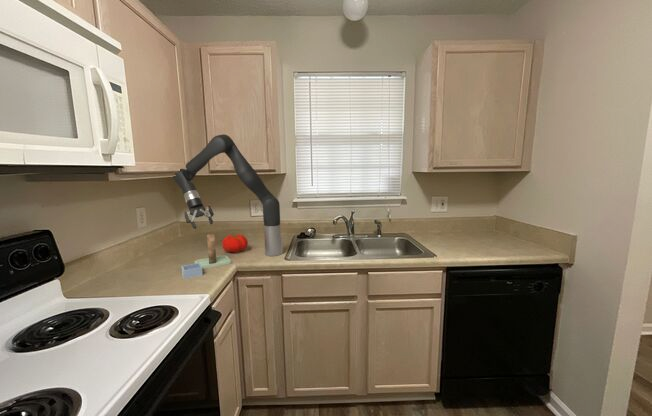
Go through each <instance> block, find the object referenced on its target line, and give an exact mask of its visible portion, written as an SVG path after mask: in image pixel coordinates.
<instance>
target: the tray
mask: <svg viewBox="0 0 652 416" xmlns="http://www.w3.org/2000/svg"><path fill="white" fill-rule="evenodd" d="M193 262H194V263H193V264H195V263H200V264H201V266H202V270H203V269H204V270H205V269H210V268H214V267H220V266H225V265H230V264H232V259H230V257H228V256H227V254H224V255H218V256H217V255H216V263H214V264H209V257H206V258H200V259H195V260H193Z"/></svg>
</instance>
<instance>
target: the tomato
mask: <svg viewBox="0 0 652 416" xmlns="http://www.w3.org/2000/svg"><path fill="white" fill-rule="evenodd" d="M221 243H222V245H221V246H222V249H223V250H224V251H226V252H227V253H233V254H235V253H238V252H243V251H244V250H245V249H247V246H248V243H249V242H248V238H246V236H244V235H243V234H240V233H236V234H233V235H232V234H230V235H227V236H226V237H225V238H223V240H222V242H221Z"/></svg>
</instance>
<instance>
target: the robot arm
mask: <svg viewBox="0 0 652 416" xmlns="http://www.w3.org/2000/svg"><path fill="white" fill-rule="evenodd" d="M238 148H239V147H238V146H237V145H236V143H235V142H234V140H233V139H232V138H231V137H230V136H229V135H228V134H218V135H214V136H213V137H212V138H211V139H210V140H209V142H208V143H207V144H206V146H205V147H204V148H203V149H202V150H201V151H200V152H199V153H197V154H196V155H195V156H194V157H192V158H191V159H190V160H189V161H188V162H187V163H186V164H185V168H181V169H180V171H178V172H177V173H175V175H176V176H173V175H172V177H173V179H174V181H175V184H177V185H178V187H179V188H180V189H181V191H182V194H183V197H184V199H185V202H186V206H187V208H188V210H189V211H184V213H183V216H184V219H185V221H186V223H187V224H190V225H191V227H192V228H193V229H194V230H196V229H197V225H196V222H195V218H200V217H206V218H207V219H208V222H209V224H210V225H213V223H214V220H213V217H214V216H215V214H214V211H213V209H212V207H211V205H208V206H206V207H205V206H204V204H203V202H202V198H201V197H200V193H198V191H197V187H196V186H195V184H194V183H193V182H192V180H194V178H195V176H197V173H198V172H200V171H201V170H202V169H203V168H204V167H206V165H207V164H208V163H209V162H210V161H211V160H212V159H213V158H214V157H216V156H218V155H220V154H225V155H226V156H227V157H228V158H229V160H230V161H231V163H232V165H233V168H234V170H235V171H234V172H235V174H236V175H237V177H238V178H239V180H240V181H241V182H242V183H243V184H244V186H245V187H246V188H248V189H249V190H250V191H251V192H252V193H253V194H254V195H255V196H256V197H257V198H258V200H259V201H260V203H261V204H262V217H263V218H262V219H263V230H264V231H263V232H264V235H263V236H264V253H265V256H267V257H275V256H280V255H283V253H284V251H283V250H284V249H283V237H281V236H282V235H281V234H282V233H281V231H282V230H281V210H280V209H281V208H280V207H281V206H280V201H279V199H278V198H277V197H276V196H274V195H273V193H272V192H271V191H270V190H269V189H268V187H266V185H265V183H264V182H263V181H262V179H261V177H260V176H259V174H258V173H257V172H256V170H255V169H254V167H252V165H251V164H250V163H249V162H248V160H247V159H246V157H244V156H243V154H242V152H241V151H240V150H239V149H238ZM189 215H191V219H190V218H189Z"/></svg>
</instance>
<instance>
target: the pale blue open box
mask: <svg viewBox="0 0 652 416" xmlns="http://www.w3.org/2000/svg"><path fill="white" fill-rule="evenodd" d="M180 267H181V274H182V278H183V280H185V279H189V278H190V279H191V278H195V277H199V276H200V277H201V276H203V272H204V271H203V269H202V266H201V264H200V263H191V264H184V265H181V266H180Z"/></svg>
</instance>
